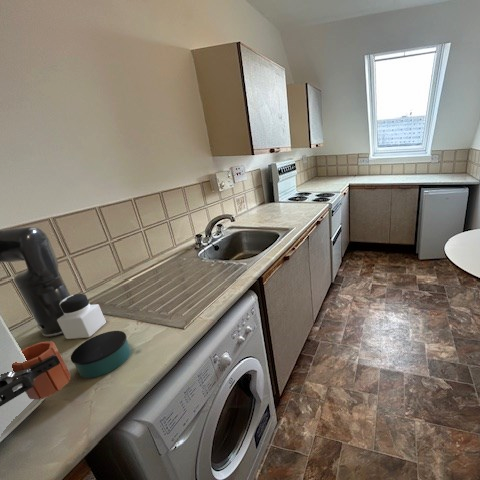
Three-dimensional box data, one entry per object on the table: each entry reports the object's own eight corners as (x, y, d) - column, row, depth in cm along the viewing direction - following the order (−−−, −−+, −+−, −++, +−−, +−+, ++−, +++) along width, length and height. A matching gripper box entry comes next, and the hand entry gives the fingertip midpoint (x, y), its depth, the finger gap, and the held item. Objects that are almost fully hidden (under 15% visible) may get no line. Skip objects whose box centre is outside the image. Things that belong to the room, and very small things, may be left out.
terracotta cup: (32, 385, 56) (12, 351, 53) (71, 369, 60) (54, 337, 57) (27, 405, 52) (5, 370, 48) (69, 386, 55) (51, 352, 52)
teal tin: (79, 359, 71) (71, 345, 69) (129, 338, 77) (123, 324, 76) (77, 387, 62) (69, 371, 61) (134, 361, 69) (128, 346, 67)
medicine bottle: (107, 322, 86) (93, 290, 81) (89, 337, 79) (73, 303, 75) (84, 324, 86) (70, 292, 81) (65, 339, 79) (48, 305, 75)
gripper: (-98, 428, 37) (57, 349, 50) (-106, 387, 44) (32, 327, 57) (-67, 463, 40) (72, 379, 53) (-79, 418, 47) (46, 354, 60)
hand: (51, 352), depth 55 cm, fingers closed on terracotta cup, 6 cm apart
